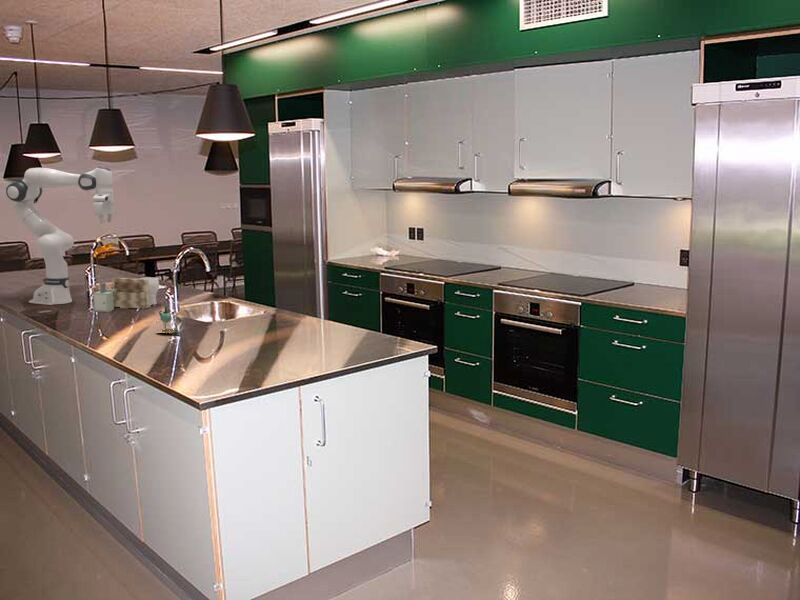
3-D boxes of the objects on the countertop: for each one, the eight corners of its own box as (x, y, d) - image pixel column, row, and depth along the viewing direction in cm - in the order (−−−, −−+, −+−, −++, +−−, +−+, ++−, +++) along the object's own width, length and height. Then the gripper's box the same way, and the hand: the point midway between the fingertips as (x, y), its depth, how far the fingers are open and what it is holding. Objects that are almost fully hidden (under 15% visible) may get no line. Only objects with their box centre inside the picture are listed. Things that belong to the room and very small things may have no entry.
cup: (162, 303, 432) (161, 277, 430) (154, 306, 422) (154, 280, 419) (144, 302, 433) (143, 276, 431) (136, 305, 423) (135, 279, 420)
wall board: (110, 307, 416) (109, 278, 413) (116, 305, 423) (115, 277, 420) (144, 309, 413) (143, 280, 410) (150, 307, 420) (150, 278, 417)
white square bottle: (93, 311, 404) (91, 283, 401) (102, 308, 413) (101, 281, 410) (107, 312, 403) (106, 284, 400) (115, 309, 412) (114, 282, 409)
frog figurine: (165, 338, 347) (163, 306, 346) (149, 335, 361) (147, 305, 359) (185, 335, 353) (182, 304, 352) (169, 333, 367) (166, 302, 365)
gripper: (106, 196, 422) (107, 221, 424) (91, 197, 401) (92, 223, 404) (118, 196, 422) (119, 221, 424) (103, 198, 401) (104, 224, 404)
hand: (105, 222), depth 414 cm, fingers open, 8 cm apart
